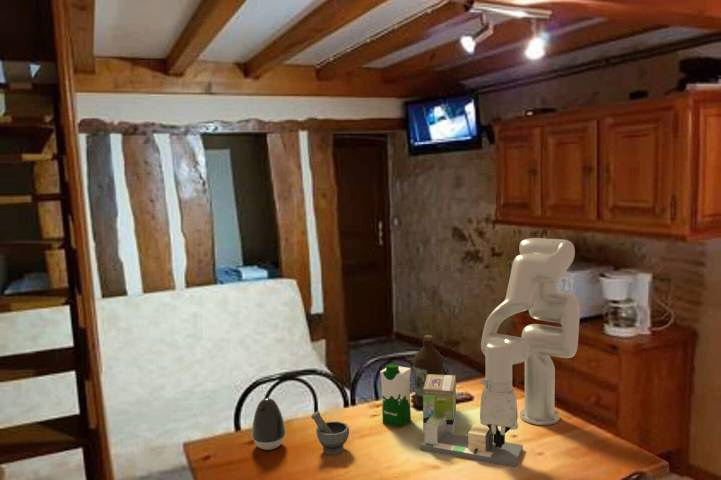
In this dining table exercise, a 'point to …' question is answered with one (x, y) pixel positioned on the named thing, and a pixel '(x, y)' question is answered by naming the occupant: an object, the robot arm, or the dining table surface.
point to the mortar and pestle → (331, 434)
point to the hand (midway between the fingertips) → (499, 445)
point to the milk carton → (395, 395)
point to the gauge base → (459, 447)
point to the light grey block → (435, 429)
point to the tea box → (440, 399)
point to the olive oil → (426, 366)
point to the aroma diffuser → (268, 425)
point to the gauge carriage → (480, 438)
